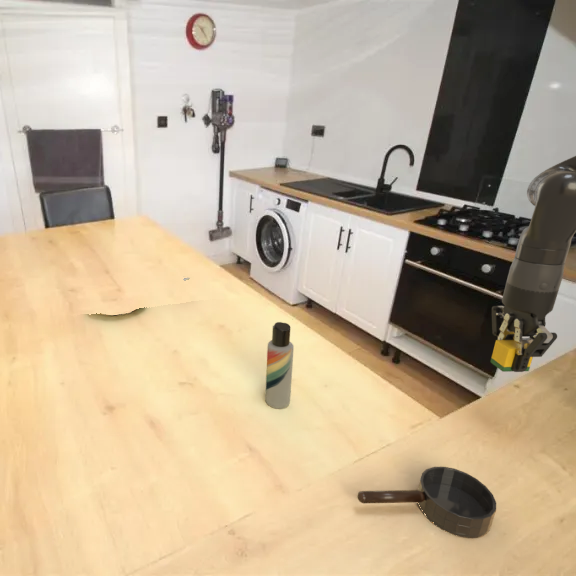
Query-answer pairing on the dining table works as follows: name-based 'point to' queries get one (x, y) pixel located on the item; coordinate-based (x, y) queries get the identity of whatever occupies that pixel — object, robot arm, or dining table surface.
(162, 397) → the dining table surface
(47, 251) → the dining table surface
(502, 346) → the sponge
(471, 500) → the pan
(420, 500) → the pan handle
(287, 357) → the lotion bottle
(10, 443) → the dining table surface
